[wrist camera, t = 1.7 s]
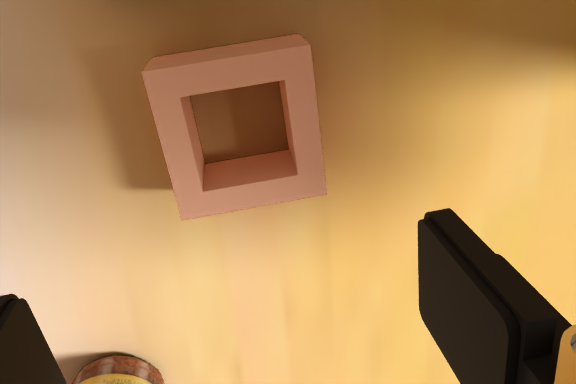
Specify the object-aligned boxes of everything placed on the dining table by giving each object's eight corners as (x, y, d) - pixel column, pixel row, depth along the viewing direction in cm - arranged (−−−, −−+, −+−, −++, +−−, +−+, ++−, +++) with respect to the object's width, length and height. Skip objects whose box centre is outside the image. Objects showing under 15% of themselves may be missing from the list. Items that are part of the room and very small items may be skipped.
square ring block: (298, 33, 23) (310, 44, 20) (315, 166, 26) (327, 194, 23) (152, 57, 23) (141, 72, 20) (186, 189, 26) (181, 220, 23)
